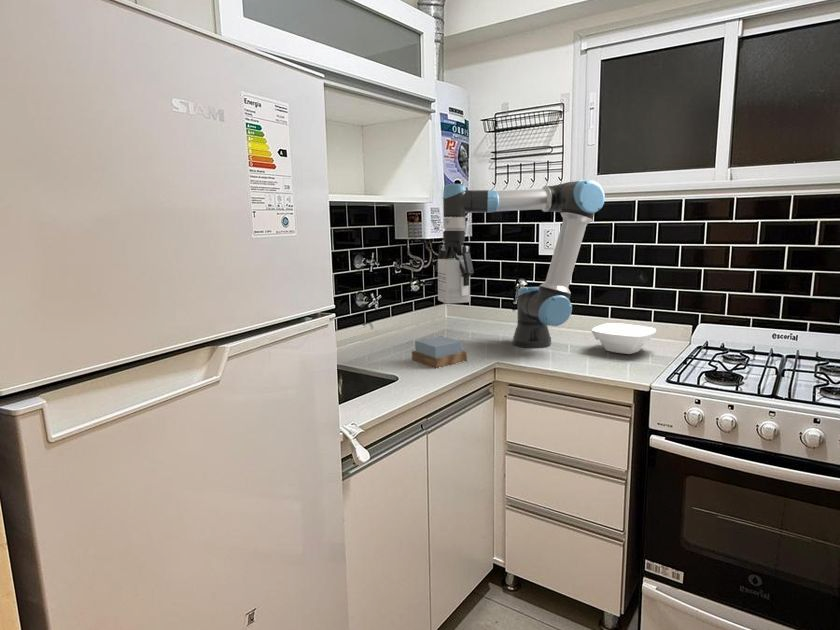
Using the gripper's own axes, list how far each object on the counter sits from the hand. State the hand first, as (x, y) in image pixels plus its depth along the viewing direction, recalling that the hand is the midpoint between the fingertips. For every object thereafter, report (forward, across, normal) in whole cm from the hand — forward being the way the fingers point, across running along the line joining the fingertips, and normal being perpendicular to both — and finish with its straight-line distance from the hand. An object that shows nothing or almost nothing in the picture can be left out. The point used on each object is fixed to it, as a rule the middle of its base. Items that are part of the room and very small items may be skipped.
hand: (453, 293), depth 188 cm
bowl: (+24, +33, +55) cm, 68 cm away
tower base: (+25, -3, -4) cm, 26 cm away
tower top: (+21, -3, -4) cm, 22 cm away
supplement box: (+3, 0, 0) cm, 3 cm away
